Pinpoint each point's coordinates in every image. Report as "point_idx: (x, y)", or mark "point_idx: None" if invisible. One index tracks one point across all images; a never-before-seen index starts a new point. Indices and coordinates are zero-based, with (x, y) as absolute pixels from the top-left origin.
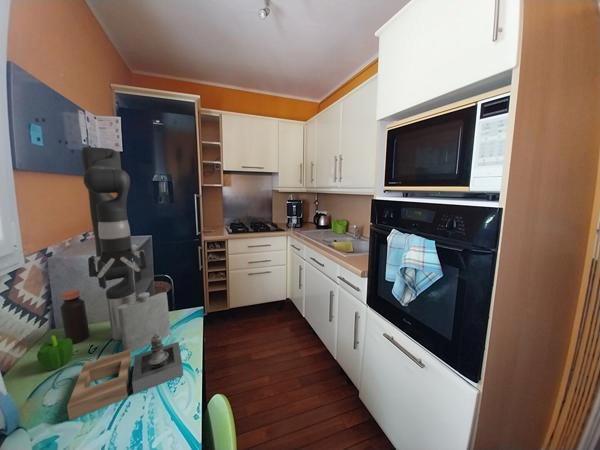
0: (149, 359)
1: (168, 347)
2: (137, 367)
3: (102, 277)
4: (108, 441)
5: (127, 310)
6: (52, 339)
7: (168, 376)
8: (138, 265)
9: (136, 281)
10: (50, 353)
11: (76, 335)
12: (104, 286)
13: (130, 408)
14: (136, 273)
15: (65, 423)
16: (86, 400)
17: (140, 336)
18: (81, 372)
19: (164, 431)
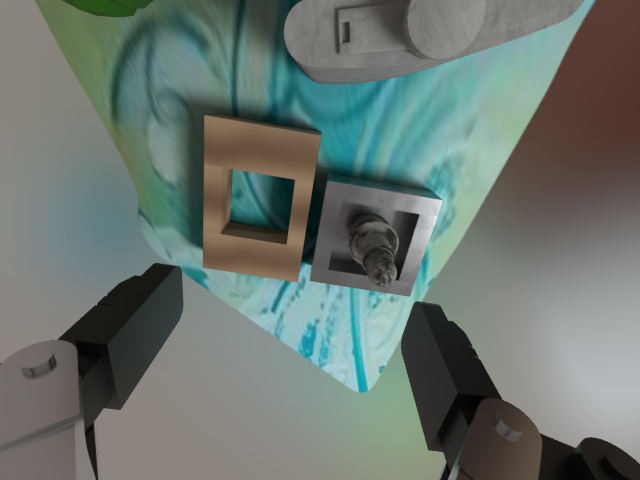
0: (354, 239)
1: (409, 209)
2: (325, 240)
3: (104, 402)
4: (272, 330)
5: (328, 69)
6: None
7: None
8: (534, 473)
9: (403, 354)
10: (82, 7)
11: None
12: (168, 329)
13: (303, 294)
14: (433, 435)
15: None
16: (233, 271)
17: (359, 80)
18: (206, 161)
19: (339, 362)
